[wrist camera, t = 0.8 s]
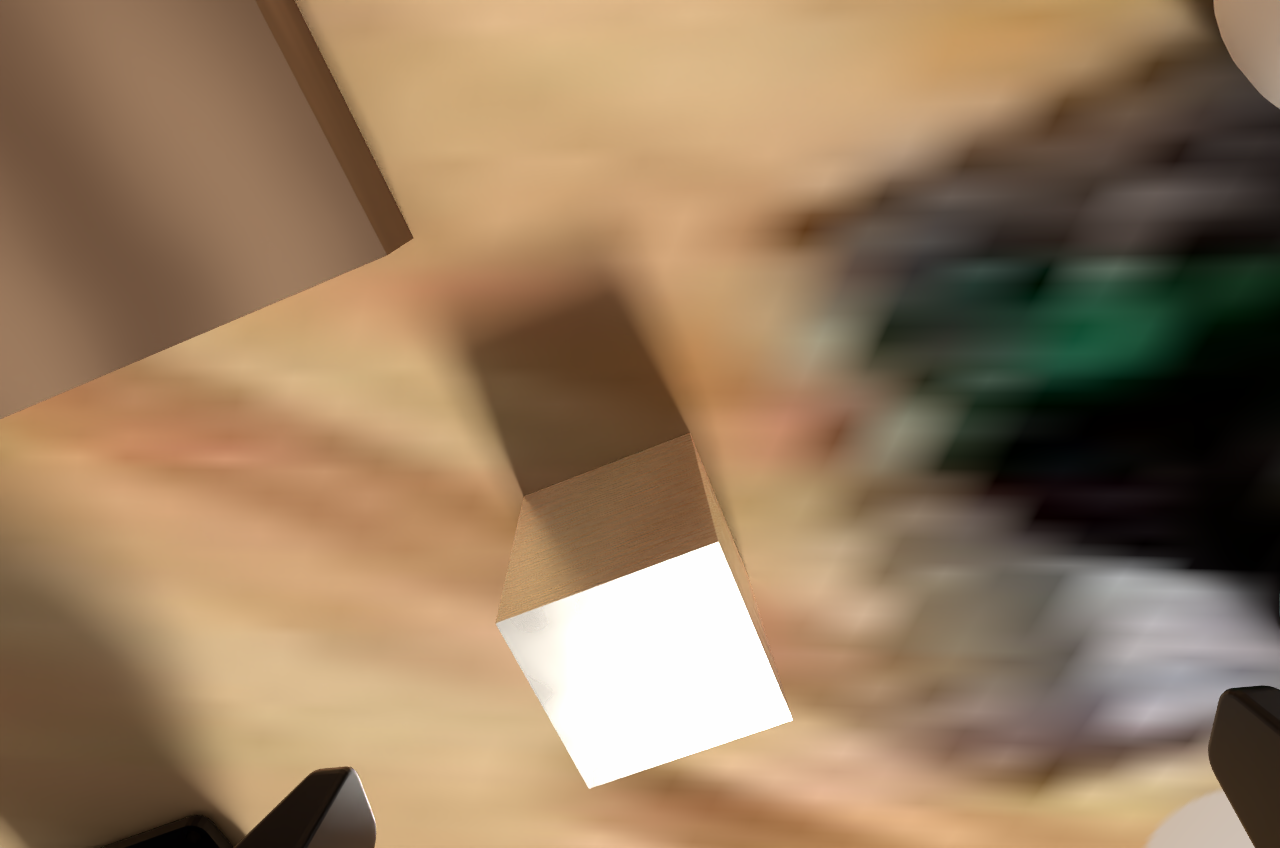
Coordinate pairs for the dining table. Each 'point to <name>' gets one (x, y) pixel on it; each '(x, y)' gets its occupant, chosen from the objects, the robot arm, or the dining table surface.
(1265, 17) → the white tall oval piece
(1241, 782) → the robot arm
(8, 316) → the walnut block
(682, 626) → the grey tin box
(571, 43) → the dining table surface
